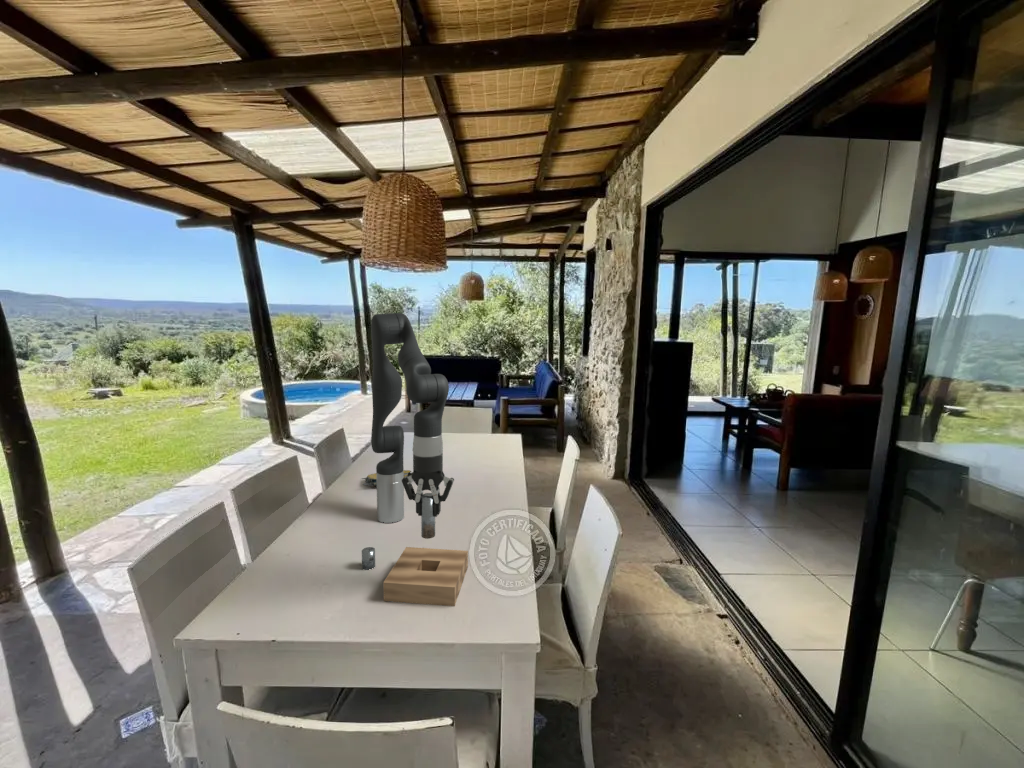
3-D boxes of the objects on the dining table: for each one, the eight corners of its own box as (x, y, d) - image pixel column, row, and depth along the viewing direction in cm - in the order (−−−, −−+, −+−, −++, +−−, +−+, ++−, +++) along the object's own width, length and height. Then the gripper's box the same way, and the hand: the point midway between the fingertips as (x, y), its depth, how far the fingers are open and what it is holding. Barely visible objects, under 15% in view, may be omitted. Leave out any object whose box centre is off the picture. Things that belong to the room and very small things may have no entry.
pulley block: (435, 468, 195) (362, 476, 183) (435, 482, 194) (363, 491, 183) (428, 464, 208) (360, 471, 196) (428, 477, 207) (360, 485, 196)
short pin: (365, 563, 130) (364, 546, 129) (377, 563, 129) (376, 547, 129) (359, 569, 126) (359, 553, 126) (372, 570, 126) (372, 553, 125)
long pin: (423, 531, 120) (423, 492, 119) (436, 532, 120) (436, 493, 119) (419, 538, 117) (419, 497, 115) (433, 539, 117) (433, 498, 115)
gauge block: (406, 563, 130) (406, 547, 129) (467, 567, 129) (468, 550, 128) (383, 601, 112) (383, 582, 112) (454, 606, 111) (454, 587, 110)
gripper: (458, 448, 119) (457, 510, 121) (405, 446, 120) (406, 508, 122) (451, 456, 111) (451, 522, 114) (396, 454, 112) (397, 519, 115)
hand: (428, 514), depth 118 cm, fingers closed on long pin, 3 cm apart
